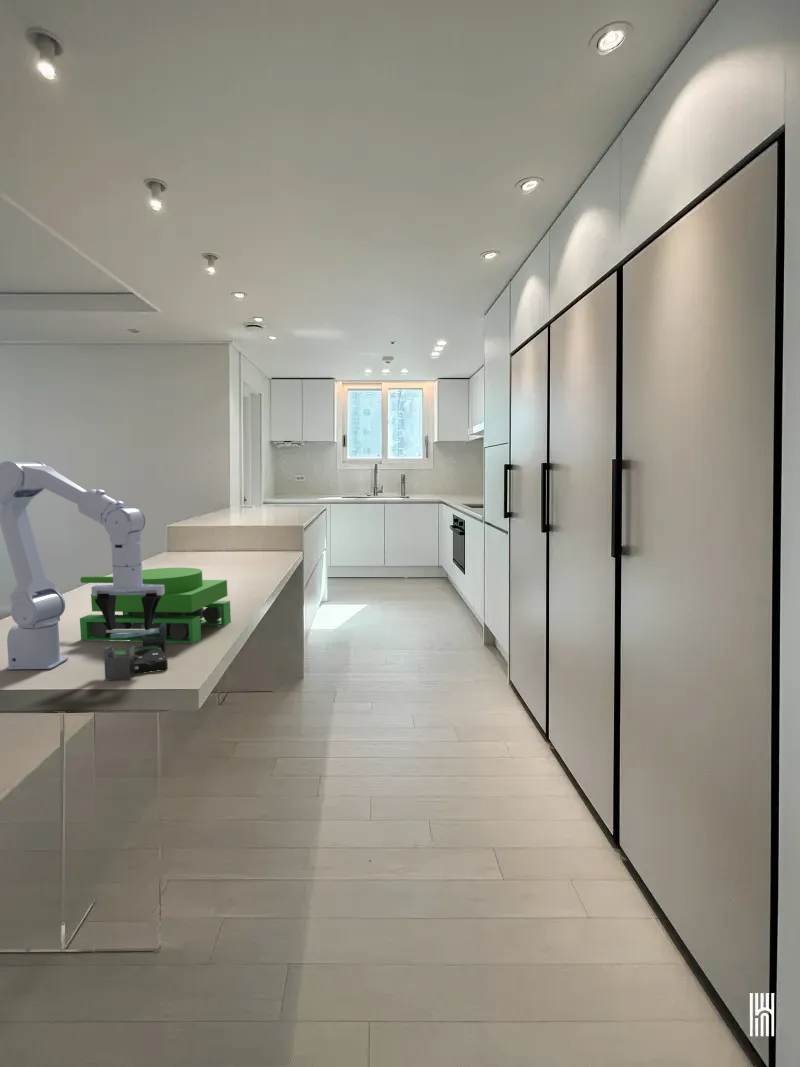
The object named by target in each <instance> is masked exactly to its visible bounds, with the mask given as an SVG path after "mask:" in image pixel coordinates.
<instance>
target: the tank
mask: <svg viewBox="0 0 800 1067" xmlns="http://www.w3.org/2000/svg"><path fill="white" fill-rule="evenodd" d="M142 580H143V584H153V585H164V588H165V594H163V595H161V599H160V601H159V603H158V605H157V607H156V610H155V613H154V617H153V621H152V623H153V624H152V628H160V624H162V623H166V632H167V635H166V642H185V643H184V644H190V643H194V644H196V643H197V641H198V640H199V641H201V640H202V633H201V631H202V630H201V625H200V624H205V625H204V626H221V625H225V626H227V625H229V624H230V623H232V620H231V619H232V618H231V616H232V615H231V601H230V600H222V599H224V598H226V597H228V580H227V579H203V570H202V569H200V568H194V567H161V568H160V567H159V568H150V569H149V568H148V569H142ZM79 581H80V583H82V584H113V576H81V577H80V580H79ZM135 592H136V591H135ZM144 596H146V595H116V602H115V613H117V612H119V613H120V612H121V613H122V614H115V621H116V626H115V628H114V629H141V625H142V624H143V623H144V609H143V604H142V600H141V598H142V597H144ZM90 598H91V600H90V602H91V612H101V610H100V608H99V607H98V605H97V604H96V603H95V599H96V598H97V596H92V593H90ZM228 623H229V624H228ZM226 624H227V625H226ZM79 627H80V628H79V629H80V631H79V632H80V641H91V640H130V641H142V635H141V636H135V637H128V638H111V634H115V633H106V630H108V627H107V624H106V621H105V618H104V616H103V614H88V615H84V616H82V617H79ZM148 635H161V633H153V634H148ZM200 639H201V640H200ZM199 641H198V642H199ZM195 642H196V643H195Z"/></svg>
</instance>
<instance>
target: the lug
mask: <svg viewBox="0 0 800 1067" xmlns="http://www.w3.org/2000/svg"><path fill="white" fill-rule="evenodd" d="M134 647H135V645H129V646H127V647H126V648H124V649H125V650H126V654H113V650H114V649H113V645H108V646H106V647H105V648H103V658H104V678H105V679H104V680H105V681H131V680H132V679H133V678H135V677H136V676H135V675H136V674H135V669H134Z"/></svg>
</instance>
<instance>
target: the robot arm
mask: <svg viewBox="0 0 800 1067" xmlns="http://www.w3.org/2000/svg"><path fill="white" fill-rule="evenodd" d="M44 490H46V491H50V492H51V493H54V494H56V495H58V496H60V497H62V498H64V499H66V500H67V501H70V502H71V503H74V504H76V505H77V509H78V511H79V512H80V513H81V514H82V515H84V516H86V517H87V518H89V519H91V520H93V521H95V522H96V523H98V524H100V525H102V526H103V527H104V529H105V531H106V532H107V534H108V535H109V542H111V562H112V563H111V564H112V577H113V583H112V584H103V585H98V584H97V585H94V586H91V588H90V589H91V594H92V596H97V598H96V599H95V603H96V604H97V605H98V607H99V608H100V610H101V611H100V612H101V613H102V614H101V615H103V616H104V618H105V621H106V624H107V627H108V630H113V629H114V628H115V626H116V621H115V615H116V612H115V602H116V595H146V596H144V597H142V598H141V600H142V604H143V609H144V626H145V630H149V629H150V628H152V621H153V617H154V613H155V610H156V607H157V605H158V603H159V601H160V599H161V595H163V594H165V588H164V585H153V584H143V580H142V570H143V563H142V562H143V561H142V560H143V559H142V558H143V557H142V539H141V538H142V536H141V534H142V533H141V532H142V531H143V530H144V528H145V526H146V522H147V521H146V515H144V513H143V511H142V510H140V509H139V508H138V506H134V505H132V506H127V507H126V506H125V502H123V501H122V500H115V499H114V498H112V497H110V496H108V495H107V494H106V491H105V490H103V489H95V488H92V489H87V490H86V489H85V488H83V487H81V486H80V485H78V484H76V483H75V482H73V481H72V480H70V479H69V478H67V477H66V476H64V475H63V474H61V473H59V472H58V471H56V470H55V469H54V468H53V467H52V466H49V465H46V464H45V463H43V462H41V461H32V462H31V461H30V462H29V461H12V460H6V461H5V460H4V461H2V462H0V529H1V532H2V535H3V538H4V543H5V546H6V549H7V552H8V556H9V560H10V563H11V567H12V570H13V573H14V577H15V580H16V583H17V584H16V586H15V587H14V588H13V591H12V592H11V593H10V594H9V596H10V597H9V598H10V600H11V601H10V602H11V608H10V615H11V618H12V620H13V622H15V625H13V626H12V627H11V628H10V629H9V630H8V633H7V638H6V639H7V640H6V642H7V643H6V645H7V662H8V665H7V666H6V670H51V669H53V668H55V667H57V666H58V665H59V666H60V664H62V663H64V662H66V661H67V660H68V659H69V657H68V656H61V654H60V652H61V651H60V650H61V649H60V632H59V628H60V627H59V622H60V621H61V618H60V617H61V616H62V615H63V613H64V612H65V611H66V610H65V608H66V600H65V599H64V597H63V595H62V594H61V593H60V592H59V590H58V588H57V584H56V583H54V581H52V580H50V579H49V578H48V577H47V576H46V573H45V570H44V567H43V563H42V561H41V560H42V559H41V556H40V554H39V550H38V546H37V543H36V542H37V541H36V539H35V536H34V532H33V528H32V525H31V522H30V518H29V515H28V511H27V506H28V505H30V502H32V500H33V499H34V498H36V497H37V496H38V495H39V494H41V493H42V492H43V491H44ZM135 591H136V592H135Z"/></svg>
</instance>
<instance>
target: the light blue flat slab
mask: <svg viewBox="0 0 800 1067" xmlns="http://www.w3.org/2000/svg"><path fill="white" fill-rule="evenodd" d="M106 633H115V634H110V635H111V638H128V637H135V636H141V635H147V634H150V635H151V634H153V633H161V628H150V629H149V630H145V629H113V630H106Z"/></svg>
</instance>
